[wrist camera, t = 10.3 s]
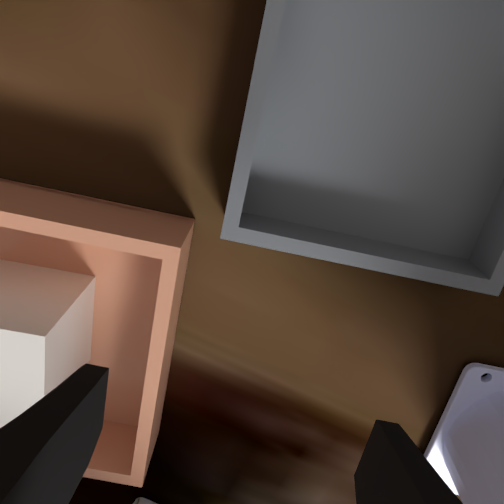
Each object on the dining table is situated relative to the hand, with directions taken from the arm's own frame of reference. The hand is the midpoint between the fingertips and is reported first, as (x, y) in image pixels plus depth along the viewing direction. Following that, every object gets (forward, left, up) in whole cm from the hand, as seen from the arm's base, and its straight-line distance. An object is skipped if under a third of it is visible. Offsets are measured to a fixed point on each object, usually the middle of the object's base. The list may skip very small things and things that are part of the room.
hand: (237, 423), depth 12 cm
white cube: (+9, +4, -9) cm, 13 cm away
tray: (-4, -8, -9) cm, 13 cm away
